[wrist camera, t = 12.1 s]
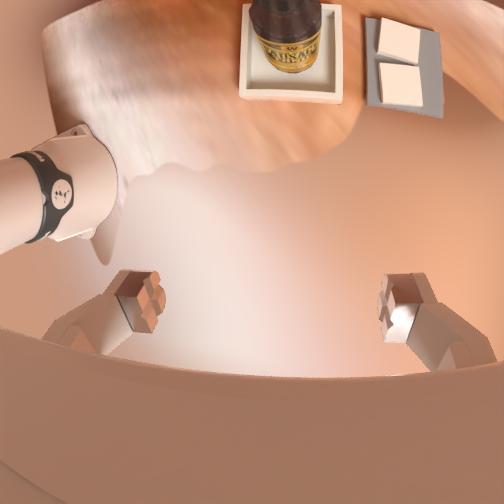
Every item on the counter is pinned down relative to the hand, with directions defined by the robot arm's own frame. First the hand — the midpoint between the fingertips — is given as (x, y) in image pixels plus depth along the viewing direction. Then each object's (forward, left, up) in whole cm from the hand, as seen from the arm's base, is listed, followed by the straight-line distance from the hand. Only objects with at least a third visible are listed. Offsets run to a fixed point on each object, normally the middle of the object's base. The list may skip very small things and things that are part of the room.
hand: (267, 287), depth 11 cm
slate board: (+12, +17, -29) cm, 36 cm away
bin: (-2, +17, -29) cm, 33 cm away
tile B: (+11, +20, -28) cm, 36 cm away
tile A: (+11, +14, -28) cm, 33 cm away
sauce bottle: (-2, +17, -28) cm, 33 cm away
